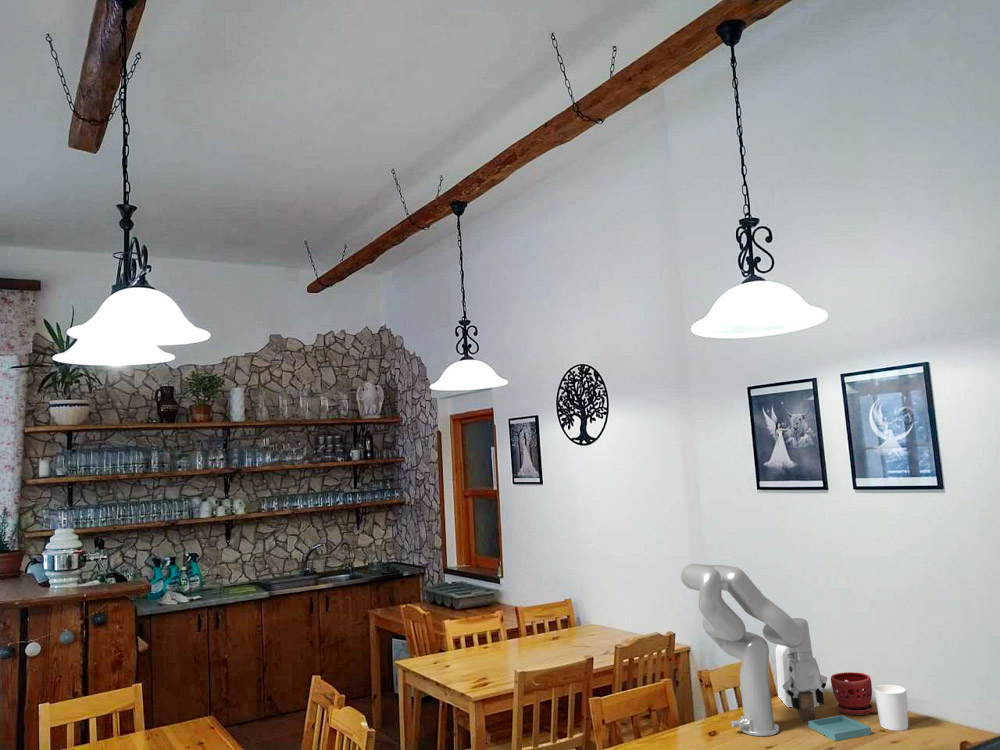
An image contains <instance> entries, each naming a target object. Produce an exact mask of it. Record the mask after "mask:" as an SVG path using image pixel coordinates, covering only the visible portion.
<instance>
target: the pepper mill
mask: <svg viewBox="0 0 1000 750" xmlns="http://www.w3.org/2000/svg"><path fill="white" fill-rule="evenodd" d="M797 698H798V699H799V706H800V709H799V710H798V716H799V720H800V721H801V720H802V721H801V722H804V721H806V722H805V723H808V721H812V720H817V718H816V712H815V711H816V710H815V707H814V700H813V692H811V691H805V692H799V693H798V695H797Z"/></svg>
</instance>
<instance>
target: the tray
mask: <svg viewBox="0 0 1000 750" xmlns="http://www.w3.org/2000/svg"><path fill="white" fill-rule="evenodd" d="M807 725H808V729H810V728H811V729H810V730H812V729H813V730H812V731H814V730H815V731H814V732H816V731H817V732H816V733H818V732H819V733H818V734H820V733H821V734H820V735H822V734H823V735H822V736H824V735H825V736H824V737H826V736H827V737H826V738H828V739H830V740H832V741H834V742H838V741H843V740H850V739H854V738H860V737H865V736H870V735H871V734H872V727H871V726H868V725H866V724H864V723H861V722H859V721H857V720H854V719H853V718H850V717H848V716H846V715H843V714H842V715H841V714H840V715H836V716H830V717H824V718H820V719H817V718H816V720H812V721H808V722H807ZM871 736H872V735H871Z"/></svg>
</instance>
